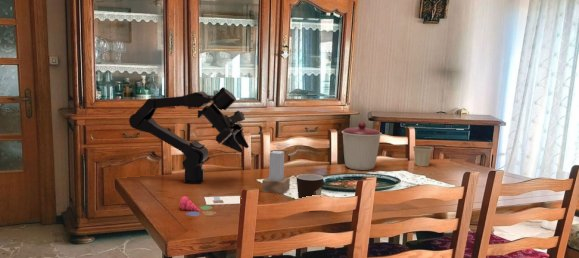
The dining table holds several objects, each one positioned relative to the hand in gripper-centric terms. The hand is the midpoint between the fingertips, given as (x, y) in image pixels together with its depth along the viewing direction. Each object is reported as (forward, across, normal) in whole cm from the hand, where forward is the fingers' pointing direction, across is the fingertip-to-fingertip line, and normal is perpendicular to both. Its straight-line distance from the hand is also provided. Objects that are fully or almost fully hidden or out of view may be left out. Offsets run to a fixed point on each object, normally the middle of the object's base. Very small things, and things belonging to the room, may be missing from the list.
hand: (245, 149), depth 184 cm
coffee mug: (+30, -22, -10) cm, 38 cm away
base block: (+19, -4, +1) cm, 19 cm away
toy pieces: (+6, -36, +14) cm, 39 cm away
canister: (+40, +46, -20) cm, 64 cm away
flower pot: (+61, +61, -41) cm, 96 cm away
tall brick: (+16, -4, -2) cm, 16 cm away
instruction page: (+8, -23, +11) cm, 26 cm away
